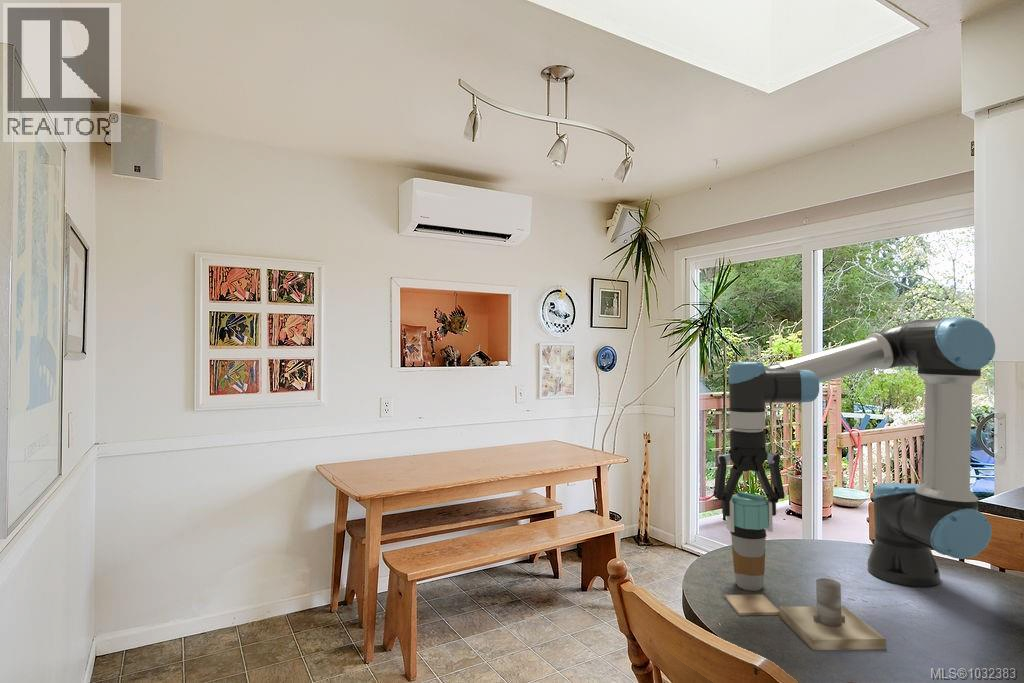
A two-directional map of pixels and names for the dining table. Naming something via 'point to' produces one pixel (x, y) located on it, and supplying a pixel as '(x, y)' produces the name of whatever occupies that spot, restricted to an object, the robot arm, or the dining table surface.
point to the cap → (750, 511)
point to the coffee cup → (749, 557)
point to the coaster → (751, 605)
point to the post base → (830, 634)
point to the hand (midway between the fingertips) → (749, 529)
